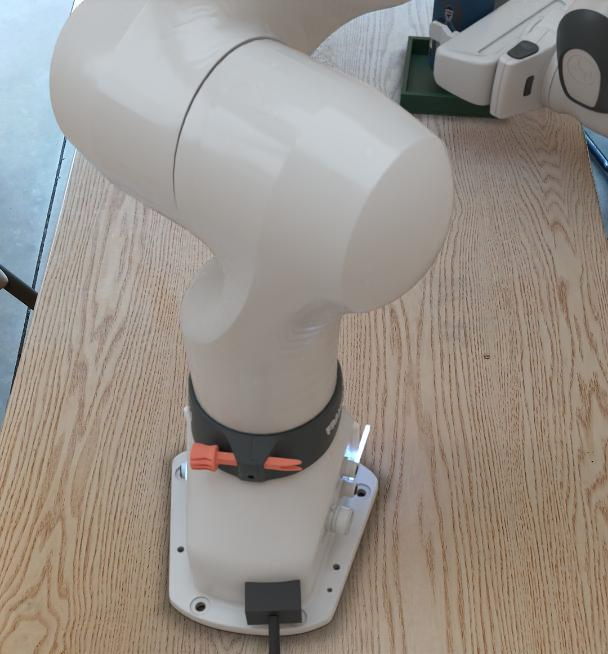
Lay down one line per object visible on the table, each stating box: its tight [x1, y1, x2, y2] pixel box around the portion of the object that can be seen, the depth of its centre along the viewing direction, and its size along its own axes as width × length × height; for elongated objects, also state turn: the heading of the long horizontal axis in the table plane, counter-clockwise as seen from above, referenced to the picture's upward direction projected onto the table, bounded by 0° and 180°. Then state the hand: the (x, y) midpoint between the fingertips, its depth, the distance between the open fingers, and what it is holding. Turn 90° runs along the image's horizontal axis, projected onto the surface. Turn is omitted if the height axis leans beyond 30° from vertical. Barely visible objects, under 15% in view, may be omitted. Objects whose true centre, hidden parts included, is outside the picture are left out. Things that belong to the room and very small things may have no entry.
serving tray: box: [399, 35, 500, 120], centre depth 103 cm, size 12×12×2 cm
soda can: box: [428, 0, 495, 72], centre depth 97 cm, size 7×7×12 cm
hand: (456, 11), depth 97 cm, fingers closed on soda can, 7 cm apart
